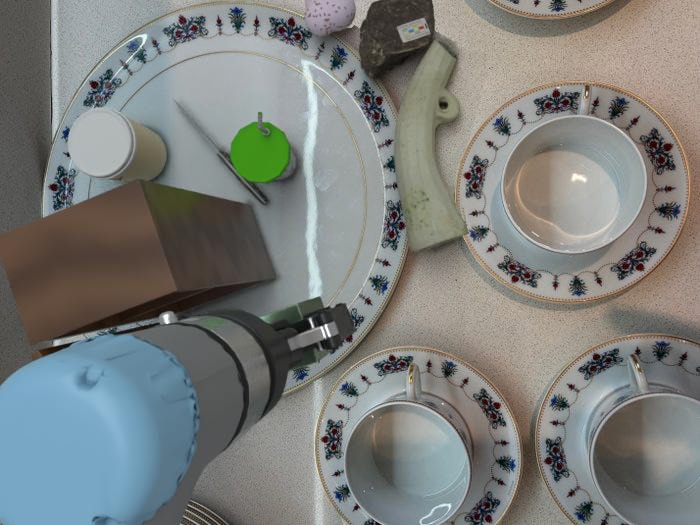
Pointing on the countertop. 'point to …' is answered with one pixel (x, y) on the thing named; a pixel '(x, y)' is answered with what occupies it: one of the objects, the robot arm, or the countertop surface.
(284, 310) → the green rectangular block
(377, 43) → the rock
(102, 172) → the coffee cup
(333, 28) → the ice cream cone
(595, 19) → the countertop surface
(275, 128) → the cup
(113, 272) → the cupboard
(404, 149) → the pale green curved piece
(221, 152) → the knife
